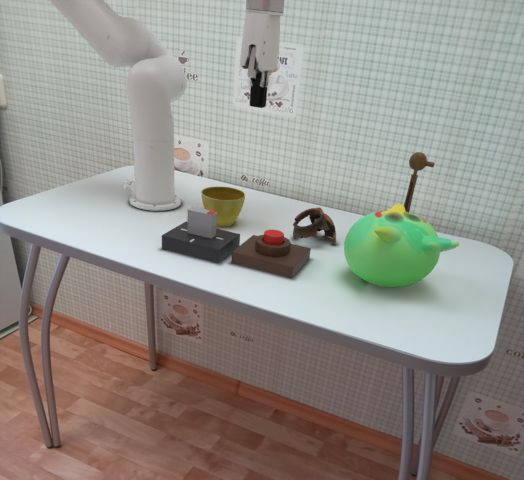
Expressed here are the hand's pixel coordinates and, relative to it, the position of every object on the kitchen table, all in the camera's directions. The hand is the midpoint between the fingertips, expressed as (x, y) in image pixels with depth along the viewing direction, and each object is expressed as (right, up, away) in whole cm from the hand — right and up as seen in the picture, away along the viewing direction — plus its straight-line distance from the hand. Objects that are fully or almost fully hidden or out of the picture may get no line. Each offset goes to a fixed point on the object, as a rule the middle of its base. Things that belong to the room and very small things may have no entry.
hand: (257, 106), depth 111 cm
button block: (+3, -35, -6) cm, 36 cm away
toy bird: (+25, -40, -10) cm, 48 cm away
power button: (+3, -31, -9) cm, 33 cm away
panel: (-12, -32, -4) cm, 34 cm away
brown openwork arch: (+13, -28, +6) cm, 31 cm away
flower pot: (-9, -23, +10) cm, 27 cm away
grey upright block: (-11, -29, -6) cm, 32 cm away
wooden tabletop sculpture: (+34, -27, +11) cm, 45 cm away
